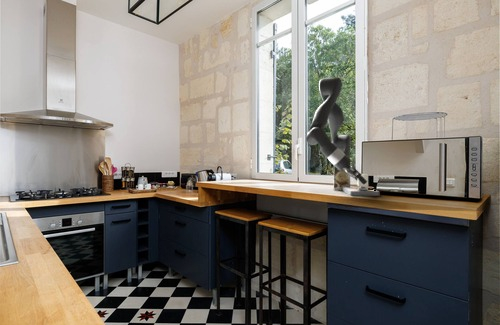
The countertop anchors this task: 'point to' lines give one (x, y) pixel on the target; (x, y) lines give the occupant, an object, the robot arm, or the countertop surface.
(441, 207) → the countertop surface
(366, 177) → the fader knob
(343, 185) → the coffee box
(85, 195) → the countertop surface
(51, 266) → the countertop surface
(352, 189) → the fader console
